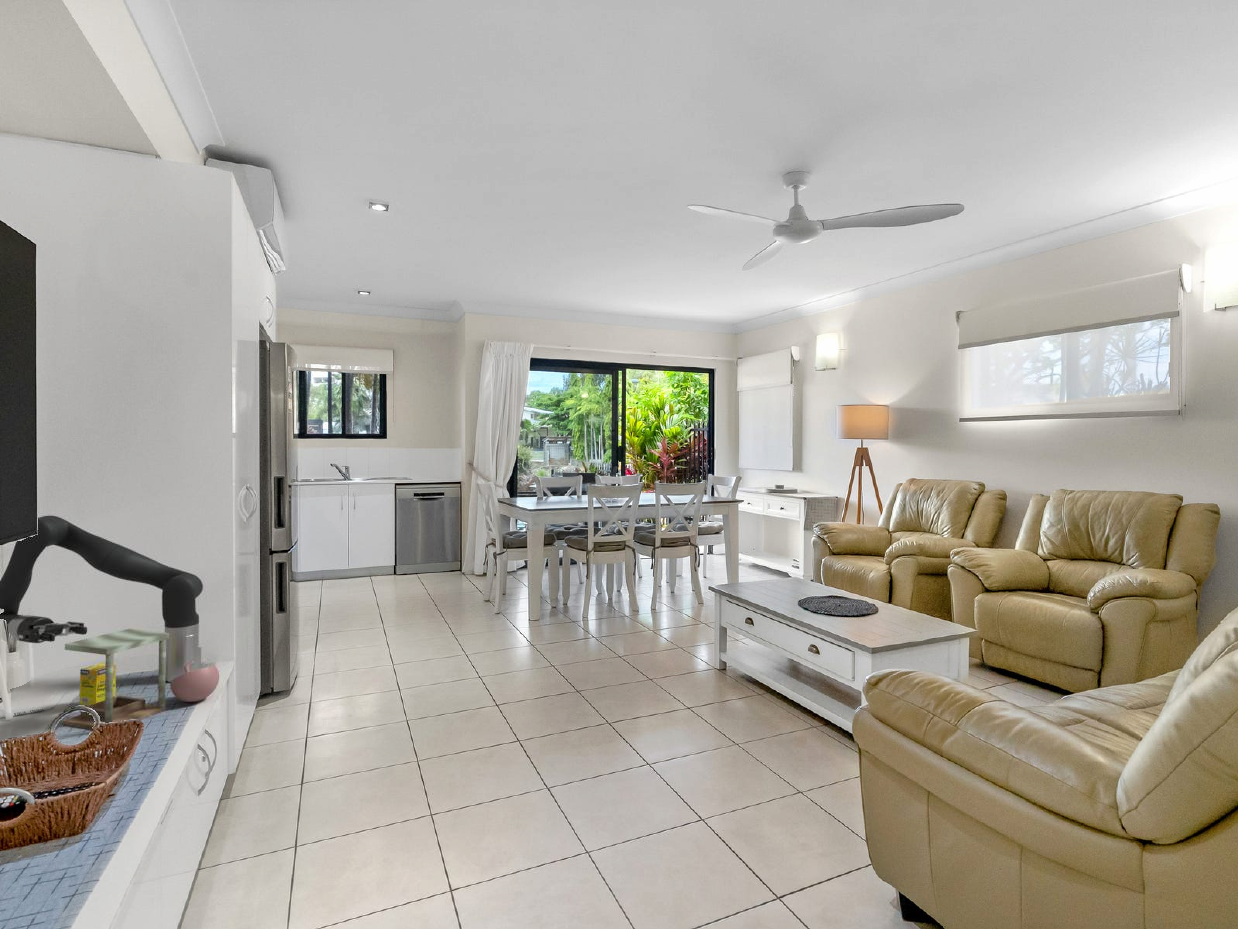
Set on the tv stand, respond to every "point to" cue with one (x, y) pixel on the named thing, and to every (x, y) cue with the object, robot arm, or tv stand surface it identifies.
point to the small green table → (119, 705)
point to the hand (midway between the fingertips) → (70, 634)
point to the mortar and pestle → (195, 683)
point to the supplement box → (94, 684)
